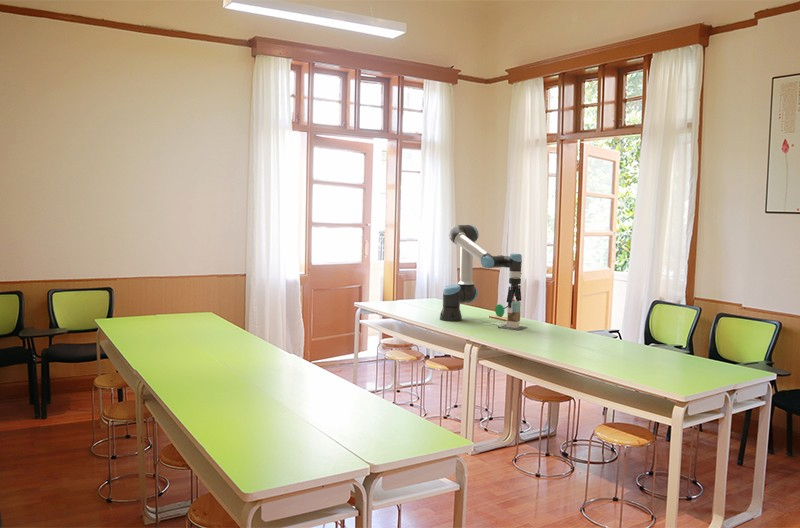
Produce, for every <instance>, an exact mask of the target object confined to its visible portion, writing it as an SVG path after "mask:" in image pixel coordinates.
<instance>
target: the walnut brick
mask: <svg viewBox="0 0 800 528" xmlns="http://www.w3.org/2000/svg"><path fill="white" fill-rule="evenodd" d="M507 321H513V322H518V321H520V322H521V311H520V312H517V313H515V312H512V313H508V312H507Z"/></svg>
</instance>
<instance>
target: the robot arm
mask: <svg viewBox="0 0 800 528" xmlns="http://www.w3.org/2000/svg"><path fill="white" fill-rule="evenodd" d="M448 237H449V240H450V241H451V242H452V243H453V244H455V245H456V246H459V247H460V252H459V256H460V257H459V259H460V260H459V261H460V262H459V281H458V282H457V284H449V285H448V284H447V285H445V286H444V287H443V290H442V309H441V312H440V314H439V320H442V321H445V322H446V321H447V322H458V321H459V322H460V321H462V320H463V316H462V312H461V307H460V305H461V304H469V303H473V302H474V301H475V300H477V297H478V296H479V292H478V291H479V290H478V289H477V287H476V286H475V282H474V281H473V263H474V261H473V260H474V259H473V258H475V259H477V260H478V261H479V262H480V264H481V267H483V268H484V269H485V268H486V269H492V268H493V269H494V268H497V269H498V268H507V269H509V270H508V271H509V272H508V276H509V278H508V283H509V284H510V286H508V287H507V288H508V291H507V295H506V303H507V306H508V307H507V314H508V313H512V305H513V303H512V300H513V297H514V298H515V302H522V291H521V289H522V288H521V287H522V285H521V282H522V281H521V280H522V264H523V263H522V262H523V257H522V254H520V253H509V254H510V255H501V254H500V255H491V253H489V252H488V251H486V250H485V249H484V248H482V247H481V246H480V245H478V244H477V243H476V242H477V241H478V239H479V237H480V234H479V230H478V229H477V228H476V226H475V225H472V224H455V225H453V226H451V227H450V228H449V231H448ZM514 294H515V296H514Z"/></svg>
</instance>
